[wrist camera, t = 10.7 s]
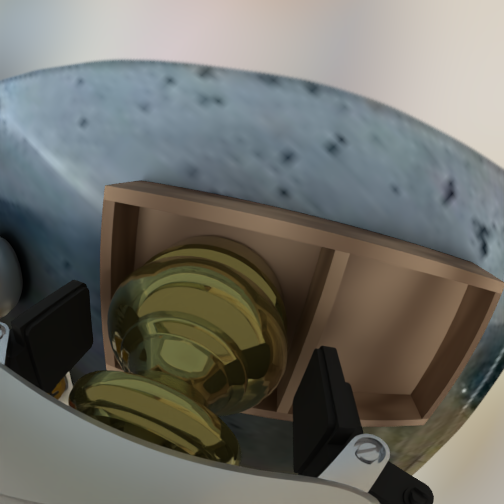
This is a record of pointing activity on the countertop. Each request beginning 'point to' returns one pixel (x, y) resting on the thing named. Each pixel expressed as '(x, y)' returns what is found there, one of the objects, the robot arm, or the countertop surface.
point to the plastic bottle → (9, 278)
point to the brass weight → (190, 348)
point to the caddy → (322, 294)
